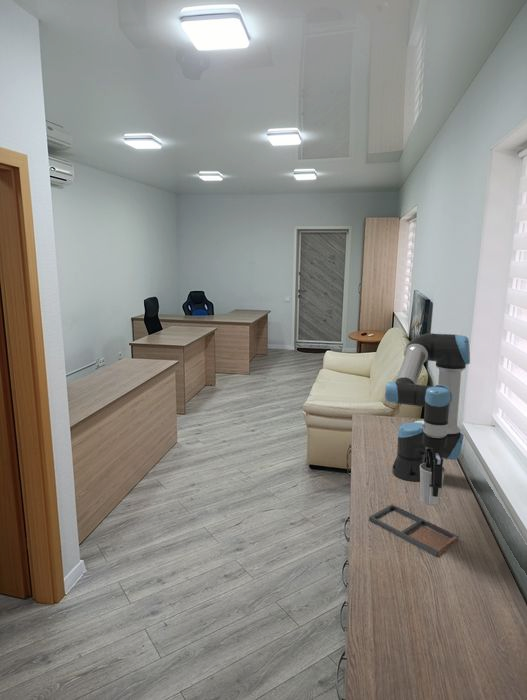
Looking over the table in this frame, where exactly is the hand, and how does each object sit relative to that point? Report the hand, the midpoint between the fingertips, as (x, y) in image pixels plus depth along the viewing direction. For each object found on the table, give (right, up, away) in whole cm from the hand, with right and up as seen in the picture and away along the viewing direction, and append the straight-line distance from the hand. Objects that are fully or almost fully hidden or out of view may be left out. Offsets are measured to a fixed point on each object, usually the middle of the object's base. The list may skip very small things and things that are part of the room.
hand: (430, 497), depth 152 cm
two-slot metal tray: (-4, -14, +8) cm, 16 cm away
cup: (0, -1, 0) cm, 1 cm away
